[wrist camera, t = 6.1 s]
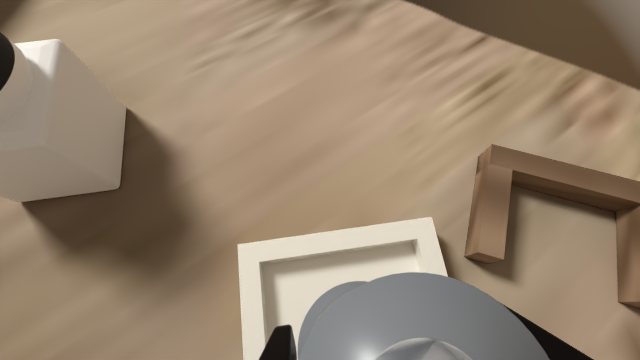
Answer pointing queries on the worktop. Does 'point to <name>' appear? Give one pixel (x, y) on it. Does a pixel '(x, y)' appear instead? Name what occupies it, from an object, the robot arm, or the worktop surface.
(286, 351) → the robot arm
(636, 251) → the socket
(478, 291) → the grey rounded upright piece
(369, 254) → the dish
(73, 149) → the medicine bottle
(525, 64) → the worktop surface
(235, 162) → the worktop surface
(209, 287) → the worktop surface
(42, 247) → the worktop surface
